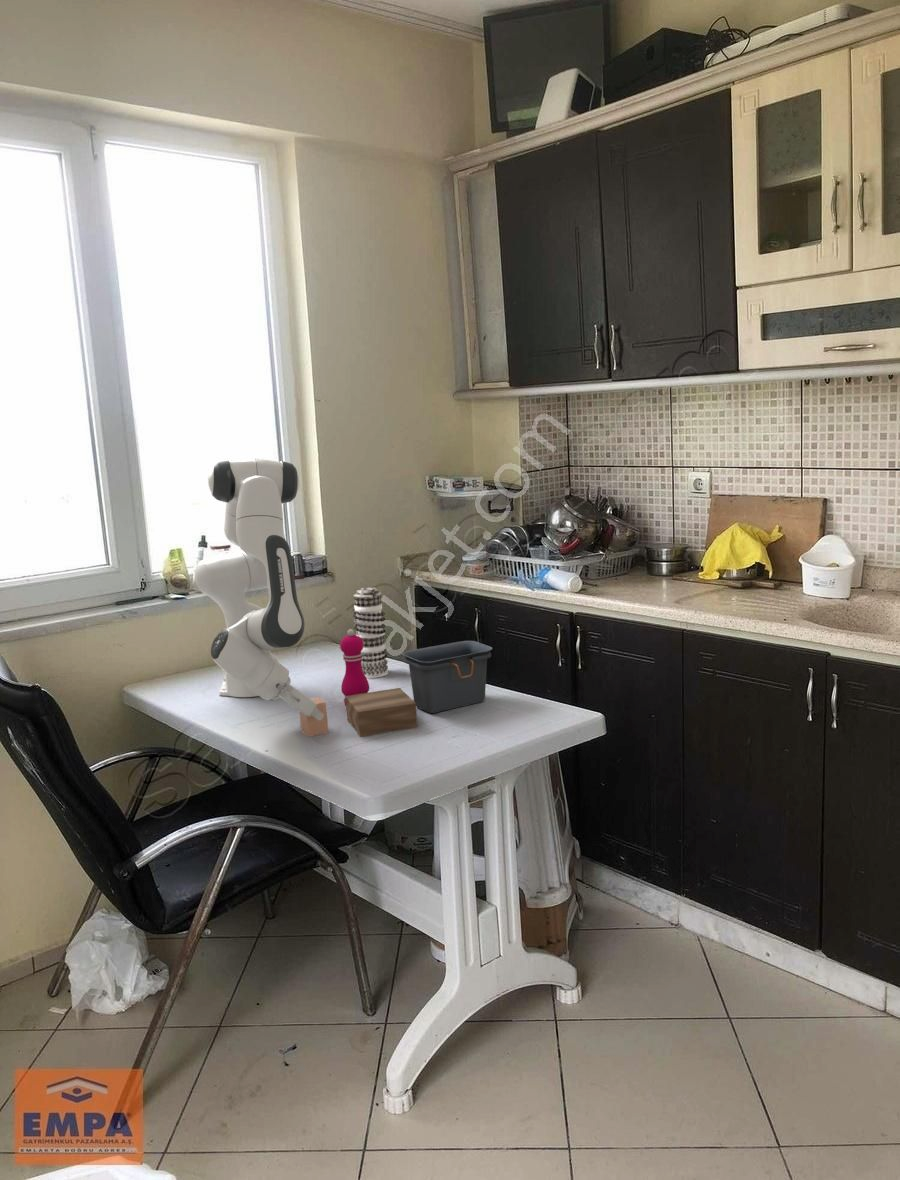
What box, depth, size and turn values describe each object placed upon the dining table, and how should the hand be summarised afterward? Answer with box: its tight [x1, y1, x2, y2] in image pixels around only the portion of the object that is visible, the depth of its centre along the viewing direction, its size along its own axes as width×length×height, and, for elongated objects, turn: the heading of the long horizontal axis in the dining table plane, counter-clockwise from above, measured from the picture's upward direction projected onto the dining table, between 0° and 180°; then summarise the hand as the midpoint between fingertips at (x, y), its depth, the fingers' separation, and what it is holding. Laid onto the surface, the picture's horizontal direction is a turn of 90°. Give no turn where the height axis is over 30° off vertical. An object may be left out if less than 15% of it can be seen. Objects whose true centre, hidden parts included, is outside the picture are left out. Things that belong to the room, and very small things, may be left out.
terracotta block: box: [299, 696, 329, 737], centre depth 227 cm, size 5×5×8 cm
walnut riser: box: [344, 687, 418, 738], centre depth 230 cm, size 14×14×6 cm
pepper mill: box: [339, 628, 370, 707], centre depth 245 cm, size 7×7×20 cm
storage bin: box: [402, 640, 493, 714], centre depth 240 cm, size 21×16×14 cm
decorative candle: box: [352, 586, 389, 679], centre depth 272 cm, size 9×9×25 cm
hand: (314, 712), depth 227 cm, fingers open, 8 cm apart
